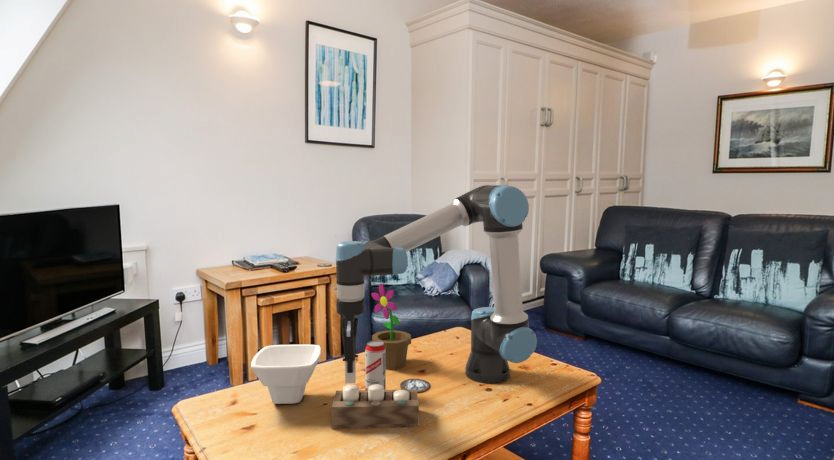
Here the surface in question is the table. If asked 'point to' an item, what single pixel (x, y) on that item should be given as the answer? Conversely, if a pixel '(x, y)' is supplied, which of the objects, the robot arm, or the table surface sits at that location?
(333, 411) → the button board
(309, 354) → the bowl
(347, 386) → the button
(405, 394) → the button
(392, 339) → the flowerpot
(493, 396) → the table surface
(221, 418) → the table surface
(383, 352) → the beer can
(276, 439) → the table surface
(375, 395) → the button middle
